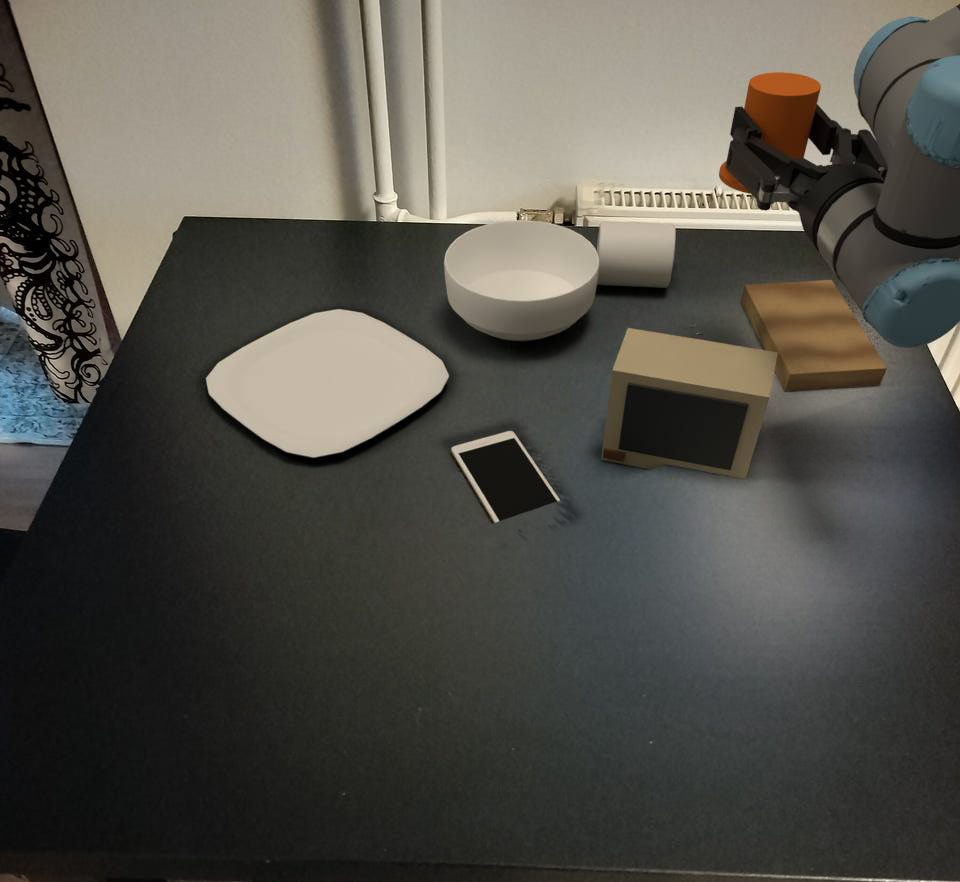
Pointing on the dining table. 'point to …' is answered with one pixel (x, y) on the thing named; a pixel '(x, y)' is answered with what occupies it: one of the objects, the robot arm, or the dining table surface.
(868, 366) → the brown wooden board
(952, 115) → the robot arm
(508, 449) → the cell phone
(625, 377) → the television
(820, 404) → the dining table surface
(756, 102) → the hat
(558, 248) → the bowl
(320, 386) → the plate
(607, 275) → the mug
